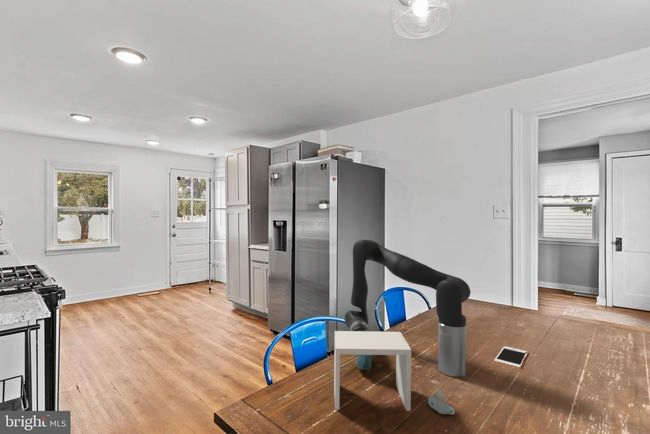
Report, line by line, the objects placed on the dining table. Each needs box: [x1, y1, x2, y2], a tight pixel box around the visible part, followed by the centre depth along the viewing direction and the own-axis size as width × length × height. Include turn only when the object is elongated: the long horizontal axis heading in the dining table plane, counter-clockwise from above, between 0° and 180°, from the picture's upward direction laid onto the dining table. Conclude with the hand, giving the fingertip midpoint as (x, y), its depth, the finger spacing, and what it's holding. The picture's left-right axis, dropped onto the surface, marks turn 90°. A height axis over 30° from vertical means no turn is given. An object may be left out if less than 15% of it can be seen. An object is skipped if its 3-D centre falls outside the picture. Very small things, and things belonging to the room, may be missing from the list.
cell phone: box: [494, 346, 528, 367], centre depth 128 cm, size 9×18×1 cm, turn 140°
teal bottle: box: [356, 329, 372, 370], centre depth 115 cm, size 5×5×12 cm
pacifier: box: [427, 389, 456, 416], centre depth 93 cm, size 7×6×6 cm
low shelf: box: [333, 330, 412, 412], centre depth 99 cm, size 14×22×18 cm, turn 90°
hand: (365, 350), depth 112 cm, fingers closed on teal bottle, 5 cm apart
